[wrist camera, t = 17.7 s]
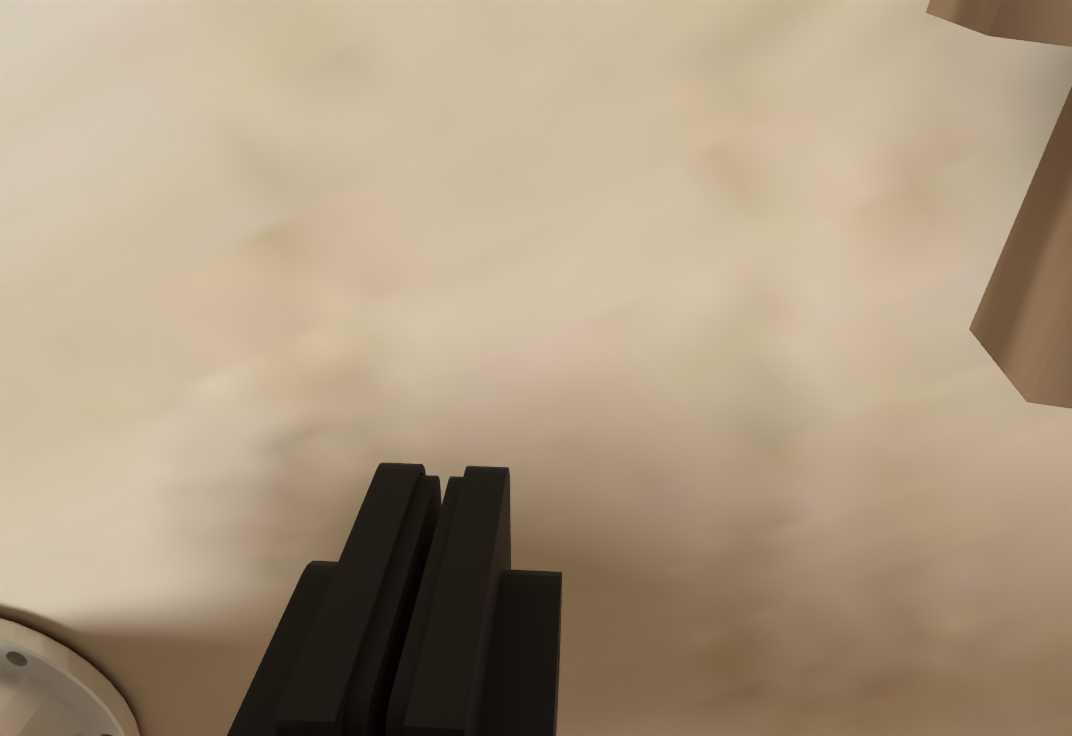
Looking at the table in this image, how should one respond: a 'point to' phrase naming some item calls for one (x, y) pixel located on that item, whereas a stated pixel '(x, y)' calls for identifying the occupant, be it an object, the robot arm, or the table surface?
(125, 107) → the table surface
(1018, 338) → the t block
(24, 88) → the table surface
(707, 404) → the table surface
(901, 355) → the table surface
